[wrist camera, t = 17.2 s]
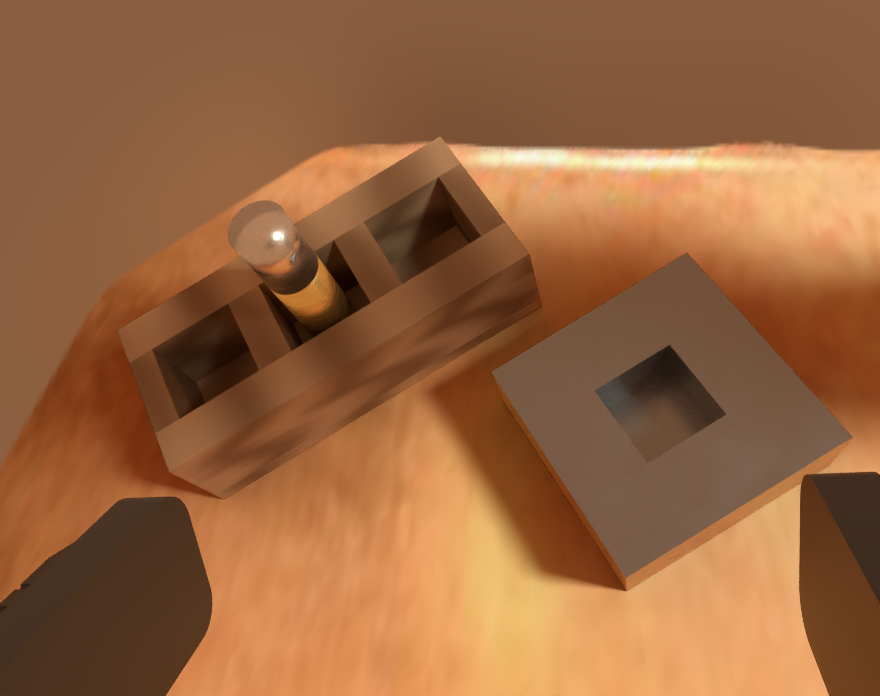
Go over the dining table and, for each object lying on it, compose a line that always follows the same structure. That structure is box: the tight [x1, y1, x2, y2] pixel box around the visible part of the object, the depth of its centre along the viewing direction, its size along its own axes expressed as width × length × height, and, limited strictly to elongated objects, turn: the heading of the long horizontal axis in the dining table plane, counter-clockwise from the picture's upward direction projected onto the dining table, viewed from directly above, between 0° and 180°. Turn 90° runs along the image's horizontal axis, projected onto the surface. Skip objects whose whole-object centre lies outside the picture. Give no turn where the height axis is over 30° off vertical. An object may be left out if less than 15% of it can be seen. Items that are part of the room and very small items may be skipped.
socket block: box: [491, 253, 852, 591], centre depth 39 cm, size 12×12×4 cm
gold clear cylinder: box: [228, 201, 357, 338], centre depth 41 cm, size 3×3×12 cm
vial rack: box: [117, 137, 541, 499], centre depth 45 cm, size 22×10×6 cm, turn 119°
